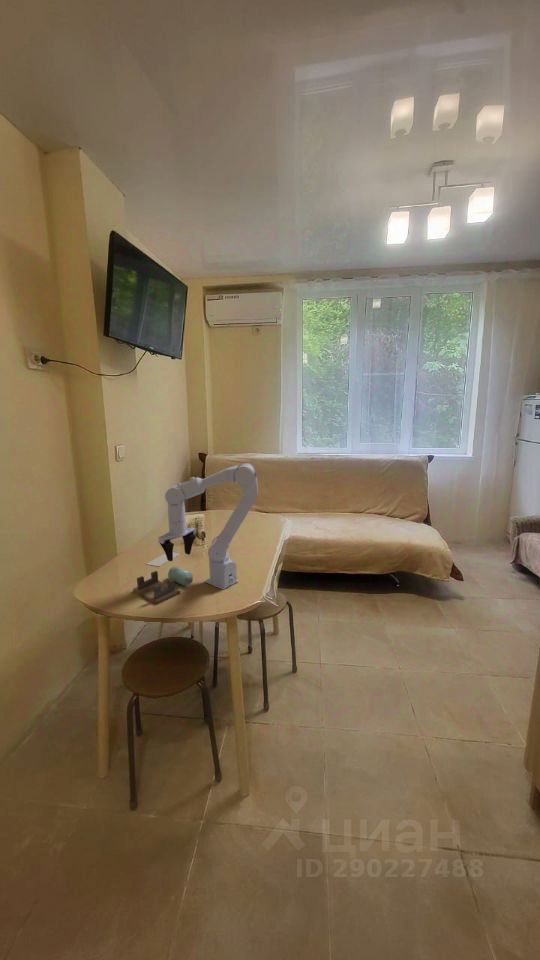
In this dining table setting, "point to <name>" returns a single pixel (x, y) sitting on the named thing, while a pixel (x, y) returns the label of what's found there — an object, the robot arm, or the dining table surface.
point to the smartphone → (161, 560)
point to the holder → (156, 589)
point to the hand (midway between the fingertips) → (179, 557)
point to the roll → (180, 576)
